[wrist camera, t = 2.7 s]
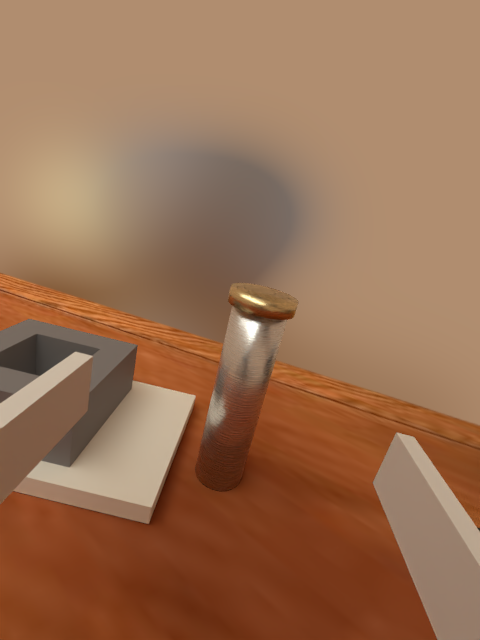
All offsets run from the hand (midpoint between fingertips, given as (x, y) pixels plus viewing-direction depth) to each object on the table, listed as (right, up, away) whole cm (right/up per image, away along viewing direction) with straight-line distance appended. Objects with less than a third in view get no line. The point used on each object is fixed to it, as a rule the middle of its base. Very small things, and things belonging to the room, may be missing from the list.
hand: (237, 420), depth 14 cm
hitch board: (-14, -5, +15) cm, 21 cm away
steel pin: (-2, -9, +14) cm, 16 cm away
